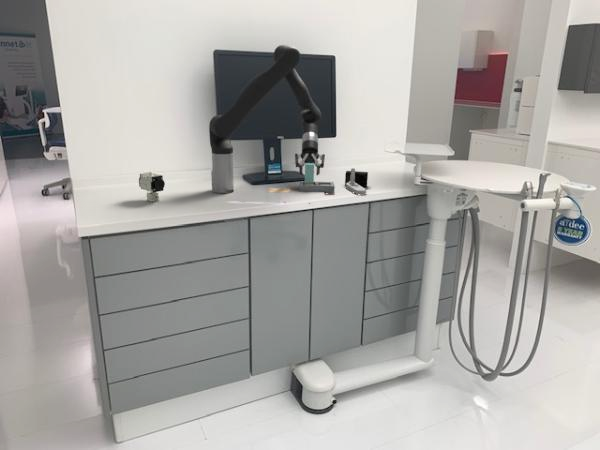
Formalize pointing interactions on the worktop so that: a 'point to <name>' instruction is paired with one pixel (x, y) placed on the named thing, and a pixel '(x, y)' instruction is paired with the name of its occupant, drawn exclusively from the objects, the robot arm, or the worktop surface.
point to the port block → (318, 187)
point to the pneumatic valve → (151, 185)
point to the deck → (279, 190)
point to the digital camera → (357, 178)
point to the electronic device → (354, 184)
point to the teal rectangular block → (309, 173)
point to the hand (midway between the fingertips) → (309, 174)
